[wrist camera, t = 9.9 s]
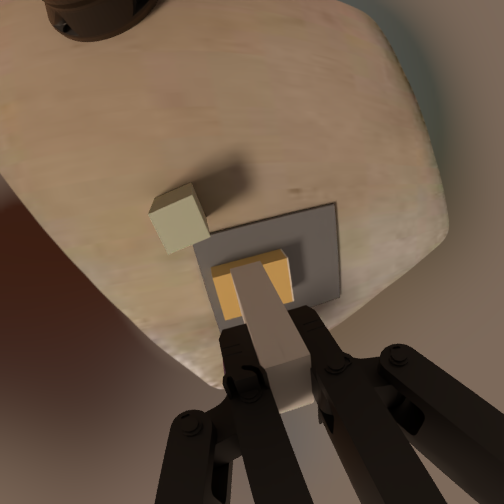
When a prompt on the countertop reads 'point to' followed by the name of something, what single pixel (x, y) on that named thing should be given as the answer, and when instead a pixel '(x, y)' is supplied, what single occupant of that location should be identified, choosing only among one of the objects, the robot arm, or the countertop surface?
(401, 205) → the countertop surface
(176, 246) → the sage block
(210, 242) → the mat
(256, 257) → the ochre slab
